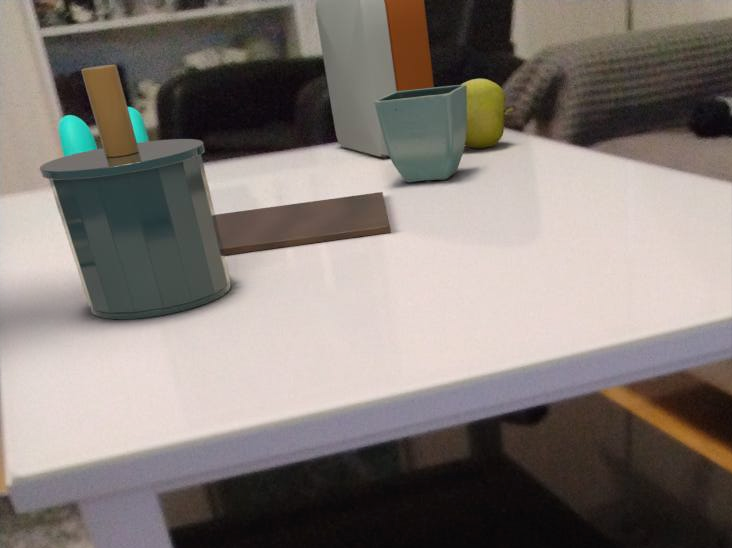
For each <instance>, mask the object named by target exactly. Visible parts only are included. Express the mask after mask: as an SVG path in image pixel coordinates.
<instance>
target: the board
mask: <svg viewBox="0 0 732 548" xmlns="http://www.w3.org/2000/svg"><path fill="white" fill-rule="evenodd" d="M215 216H216V220H217V225H218V229H219V233H220V237H221V242H222V246H223V250H224V254H225V256H228V255H236V254H242V253H251V252H257V251H265V250H273V249H280V248H286V247H293V246H302V245H308V244H315V243H323V242H329V241H330V242H331V241H338V240H345V239H346V240H347V239H352V238H353V239H354V238H360V237H367V236H375V235H381V234H382V235H383V234H389V233H391V227H390V221H389V217H388V216H389V215H388V211H387V206H386V202H385V197H384V192H383V191H379V192H373V193H365V194H358V195H351V196H350V195H349V196H342V197H335V198H327V199H320V200H319V199H318V200H312V201H306V202H297V203H291V204H283V205H276V206H269V207H262V208H254V209H247V210H238V211H233V212H224V213H217V214H216V213H215Z"/></svg>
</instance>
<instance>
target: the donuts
mask: <svg viewBox="0 0 732 548" xmlns="http://www.w3.org/2000/svg"><path fill="white" fill-rule="evenodd" d="M127 107H128V111H129V115H130V118H131V122H132V126H133V130H134V133H135V137H136V141H137V143H140V142H148V141H150V139H149V136H148V132H147V129H146V125H145V122H144V119H143V116H142V115H141V113H140V112H139V111H138V110H137V109H136V108H134V107H132V106H127ZM58 135H59V141H60V145H61V150H62V154H63V157H65V156H69V155H73V154H77V153H82V152H86V151H91V150H96V149H99V148H98V145H97V143H96V139H95V136H94V135H93V132H92V130H91V129H90V127H89V126H88V125H87V123H86V122H85V121H84V120H83V119H82V118H80V117H79V116H76V115H73V114H68V115H64V116H63V117H62V118H61V119H60V121H59V123H58Z"/></svg>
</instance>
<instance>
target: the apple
mask: <svg viewBox="0 0 732 548" xmlns="http://www.w3.org/2000/svg"><path fill="white" fill-rule="evenodd" d="M460 85H466V86H467V131H466V140H465V146H466V147H469V148H472V149H473V148H474V149H484V148H489V147H493V146H494V145H496V144H497V143H498V142H499V141H500V140H501V139H502V137H503V136H504V133H505V132H504V128H505V123H506V115H507V114H509V113H512V112H514V111H515V109H514V107H511V106H510V108H508V109H506V110H505V107H506V102H507V97H506V92H505V91H504V90H503V88H502V87H501V86H500V85H499V84H497V83H496V82H494V81H492V80H490V79H486V78H475V79H473V78H472V79H470V80H467V81H465V82H463V83H461V84H460ZM465 146H464V147H465Z"/></svg>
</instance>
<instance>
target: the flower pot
mask: <svg viewBox="0 0 732 548" xmlns="http://www.w3.org/2000/svg"><path fill="white" fill-rule="evenodd" d="M374 104H375V108H376V112H377V116H378V120H379V124H380V128H381V132H382V135H383V139H384V143H385V146H386V149H387V152H388V154H389V157H388V158H390V159H389V160H390V161H391V162H392V164H393V166H394V168H395V169H396V171H397V172H398V174H399V175H400V176H401V177H402V179H403V180H404V181H405V182H406V183H415V182H423V181H433V180H435V181H436V180H440V181H445V180H447V179H449V178H451V176H452V175H453V174H455V173H456V172H457V171H458V168H459V166H460V163H461V160H462V157H463V153H464V150H465V140H466V131H467V86H466V85H461V84H456V85H445V86H436V87H435V86H434V88H426V89H416V90H406V91H398V92H393V93H391V94H389V95H387V96H384V97H382V98H380V99H378V100H376V101H374Z"/></svg>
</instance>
